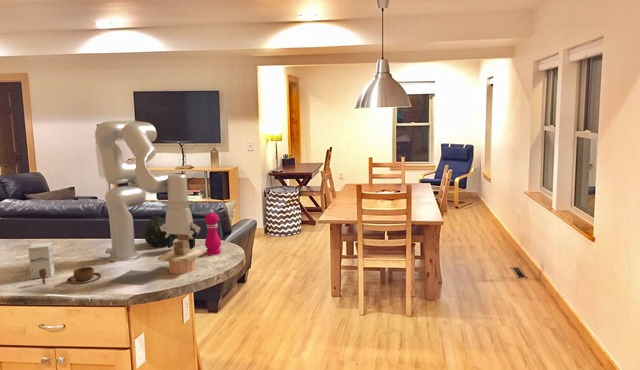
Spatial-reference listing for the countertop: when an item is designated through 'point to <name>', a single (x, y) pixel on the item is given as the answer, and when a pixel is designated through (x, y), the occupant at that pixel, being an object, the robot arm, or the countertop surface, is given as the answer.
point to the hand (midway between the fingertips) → (181, 247)
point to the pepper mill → (212, 234)
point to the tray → (136, 277)
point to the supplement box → (41, 259)
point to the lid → (181, 252)
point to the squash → (156, 232)
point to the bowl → (181, 266)
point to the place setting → (76, 275)
